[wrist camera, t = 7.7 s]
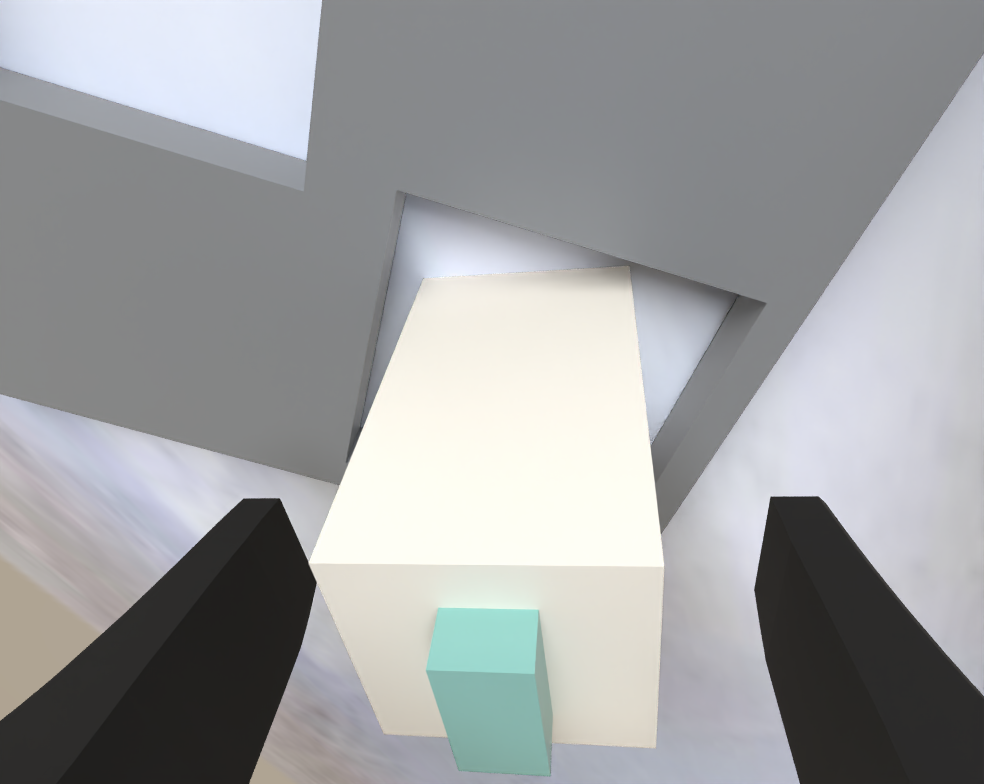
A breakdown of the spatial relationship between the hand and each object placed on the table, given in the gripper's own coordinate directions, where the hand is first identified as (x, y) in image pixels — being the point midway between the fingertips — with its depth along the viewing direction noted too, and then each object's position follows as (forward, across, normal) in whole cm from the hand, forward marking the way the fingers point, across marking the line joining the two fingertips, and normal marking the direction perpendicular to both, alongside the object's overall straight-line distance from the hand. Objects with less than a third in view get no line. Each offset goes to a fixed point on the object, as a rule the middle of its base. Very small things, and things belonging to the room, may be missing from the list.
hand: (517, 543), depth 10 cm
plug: (+5, 0, 0) cm, 5 cm away
